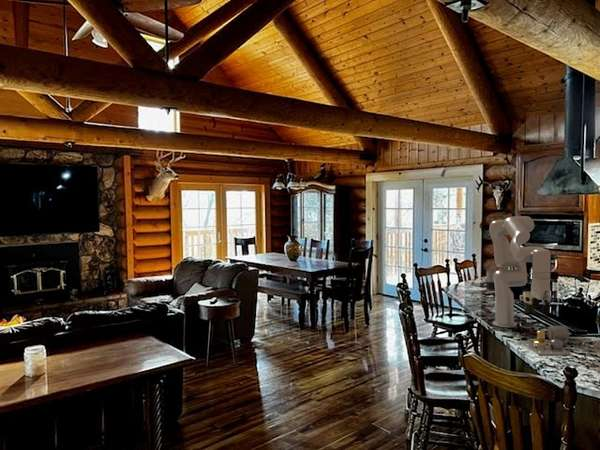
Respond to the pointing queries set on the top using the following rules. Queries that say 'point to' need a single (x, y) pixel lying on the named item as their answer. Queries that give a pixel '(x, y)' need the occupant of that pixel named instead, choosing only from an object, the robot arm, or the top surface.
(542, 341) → the brass door knob
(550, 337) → the ceramic mug
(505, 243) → the robot arm
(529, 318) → the top surface
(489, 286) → the milk frother
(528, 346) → the carrier
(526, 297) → the character mug
